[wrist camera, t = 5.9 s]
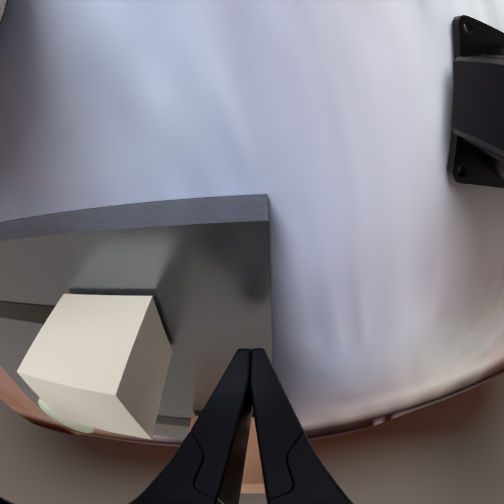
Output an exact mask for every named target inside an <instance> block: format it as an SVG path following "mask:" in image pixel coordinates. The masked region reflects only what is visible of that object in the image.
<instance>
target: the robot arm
mask: <svg viewBox="0 0 504 504" xmlns="http://www.w3.org/2000/svg"><path fill="white" fill-rule="evenodd" d="M464 24H465V25H466V27H467V29H468V33H467V32H466V31H465V29H464ZM452 28H453V42H454V88H453V111H452V133H451V142H450V151H449V159H448V166H447V171H448V174H449V176H450V177H451V178H452V179H453V180H455V181H456V182H458V183H463V184H473V185H483V186H492V187H500V188H504V33H503V32H501V31H499V30H497V29H495V28H493V27H491V26H489V25H487V24H485V23H482V22H480V21H478V20H476V19H474V18H471V17H469V16H465V15H462V16H457V17H454V19H453V22H452ZM460 165H462V169H461V171H460V172H459V173H458V168H459V166H460ZM252 409H253V414H254V421H255V428H256V435H257V442H258V448H259V455H260V462H261V468H262V475H263V481H264V488H265V494H266V500H267V504H353V503H352V502H351V500H350V499H349V498H348V497H347V496H346V495H345V493H344V492H343V491H342V490H341V488H340V487H339V486H338V484H337V483H336V481H335V480H334V479H333V477H332V476H331V475H330V473H329V472H328V471H327V469H326V468H325V466H324V465H323V464H322V462H321V461H320V459H319V457H318V456H317V455H316V453H315V451H314V449H313V447H312V445H311V444H310V442H309V440H308V438H307V436H306V434H305V433H304V430H303V428H302V426H301V424H300V422H299V420H298V418H297V416H296V414H295V412H294V410H293V408H292V406H291V404H290V402H289V400H288V398H287V395H286V393H285V391H284V389H283V387H282V385H281V383H280V381H279V379H278V377H277V375H276V373H275V370H274V368H273V366H272V364H271V362H270V360H269V358H268V356H267V353H266V351H265V350H264V349H263V348H253V349H249V348H240V349H238V350H237V351H236V353H235V355H234V356H233V358H232V360H231V362H230V363H229V365H228V367H227V369H226V370H225V372H224V374H223V376H222V377H221V379H220V381H219V383H218V384H217V386H216V388H215V389H214V391H213V393H212V395H211V396H210V398H209V400H208V401H207V403H206V405H205V406H204V408H203V410H202V411H201V413H200V415H199V417H198V418H197V420H196V422H195V423H194V425H193V427H192V428H191V430H190V431H191V432H189V433H188V435H187V436H186V438H185V439H184V441H183V443H182V444H181V446H180V447H179V449H178V450H177V452H176V453H175V454H174V456H173V457H172V458H171V460H170V461H169V462H168V464H167V465H166V466H165V467H164V468H163V469H162V471H161V472H160V473H159V474H158V475H157V476H156V477H155V479H154V480H153V481H152V482H151V483H150V484H149V486H148V487H147V488H146V489H145V490H144V491H143V492H142V493H141V494H140V495H139V496H138V497H137V498H135V499H134V500H133V501H131V502H130V503H128V504H239V498H240V492H241V486H242V479H243V473H244V466H245V459H246V453H247V446H248V439H249V432H250V425H251V418H252ZM0 504H14V503H12V502H10V501H8V500H5V499H4V498H1V497H0Z"/></svg>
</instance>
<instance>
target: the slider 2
mask: <svg viewBox="0 0 504 504" xmlns="http://www.w3.org/2000/svg"><path fill="white" fill-rule="evenodd" d="M198 417H199V416H191V423H190V429H189V432H191V431H190V430H191V428H192V427H193V425H194V423H195V422H196V420H197V418H198ZM240 493H265V488H264V481H263V475H262V468H261V462H260V455H259V448H258V442H257V435H256V428H255V421H254V418H251V425H250V432H249V439H248V446H247V453H246V459H245V466H244V473H243V479H242V486H241V492H240Z"/></svg>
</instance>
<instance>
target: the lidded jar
mask: <svg viewBox="0 0 504 504" xmlns="http://www.w3.org/2000/svg"><path fill="white" fill-rule="evenodd" d="M6 4H7V0H0V23H1V20H2V17H3V14H4V11H5V7H6Z"/></svg>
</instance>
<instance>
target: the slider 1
mask: <svg viewBox="0 0 504 504" xmlns="http://www.w3.org/2000/svg"><path fill="white" fill-rule="evenodd" d="M172 352H173V351H172V349H171V346H170V344H169V341H168V338H167V336H166V333H165V330H164V328H163V325H162V322H161V319H160V316H159V314H158V311H157V308H156V305H155V302H154V299H153V296H123V295H83V294H63V296H62V297H61V299H60V300H59V302H58V303H57V305H56V306H55V308H54V309H53V311H52V312H51V314H50V315H49V317H48V319H47V320H46V322H45V323H44V325H43V327H42V328H41V330H40V332H39V333H38V335H37V336H36V338H35V340H34V342H33V343H32V345H31V347H30V348H29V350H28V352H27V354H26V355H25V357H24V359H23V361H22V363H21V364H20V366H19V368H18V370H17V373H18V374H19V375H20V376H21V377H22V379H23V380H24V381H25V382H26V383H27V384H28V385H29V387H30V388H31V389H32V390H33V391H34V392H35V393H36V394H37V395H38V396H39V397H40V398H41V399H42V401H43V402H44V403H45V404H46V405H47V406H48V407H49V408H50V409H51V410H52V411H53V412H54V413H55V414H56V415H57V416H59V417H60V418H61V419H64V420H68V421H71V422H74V423H78V424H82V425H85V426H89V427H93V428H97V429H101V430H105V431H110V432H114V433H119V434H124V435H129V436H134V437H140V438H146V439H152V437H153V432H154V428H155V423H156V418H157V414H158V410H159V405H160V401H161V396H162V392H163V388H164V384H165V380H166V376H167V372H168V367H169V363H170V359H171V356H172Z"/></svg>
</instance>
